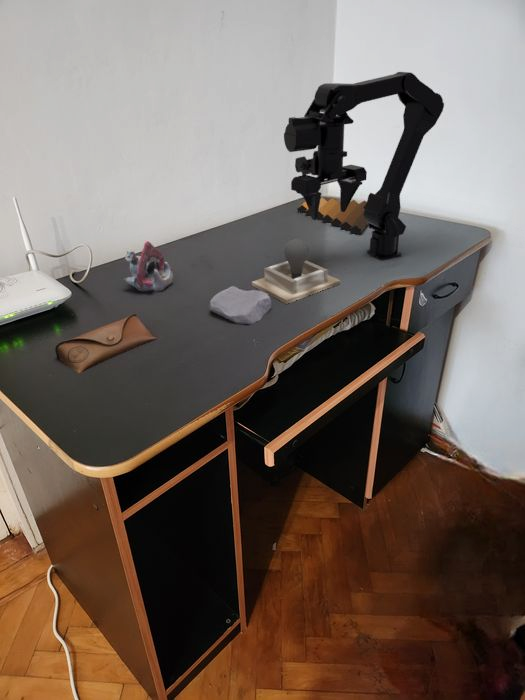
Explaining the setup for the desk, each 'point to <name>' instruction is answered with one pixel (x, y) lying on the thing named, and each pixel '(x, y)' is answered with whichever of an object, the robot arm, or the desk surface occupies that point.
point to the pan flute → (340, 215)
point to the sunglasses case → (103, 343)
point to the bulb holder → (294, 282)
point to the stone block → (241, 305)
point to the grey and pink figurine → (148, 270)
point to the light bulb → (296, 256)
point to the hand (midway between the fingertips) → (328, 215)
